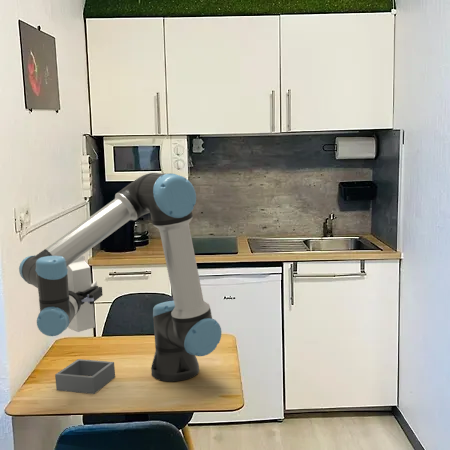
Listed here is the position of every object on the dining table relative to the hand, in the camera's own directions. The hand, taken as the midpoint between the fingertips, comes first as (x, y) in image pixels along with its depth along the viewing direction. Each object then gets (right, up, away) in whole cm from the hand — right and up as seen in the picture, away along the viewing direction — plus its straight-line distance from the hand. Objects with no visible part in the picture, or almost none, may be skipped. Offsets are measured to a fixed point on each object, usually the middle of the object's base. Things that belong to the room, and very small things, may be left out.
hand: (81, 286), depth 192 cm
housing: (+2, -30, 0) cm, 30 cm away
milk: (+1, -13, -2) cm, 13 cm away
